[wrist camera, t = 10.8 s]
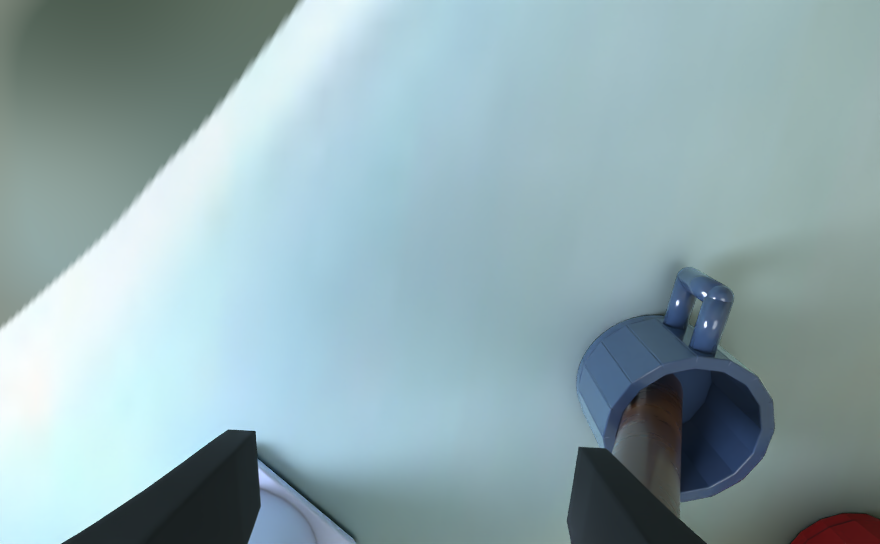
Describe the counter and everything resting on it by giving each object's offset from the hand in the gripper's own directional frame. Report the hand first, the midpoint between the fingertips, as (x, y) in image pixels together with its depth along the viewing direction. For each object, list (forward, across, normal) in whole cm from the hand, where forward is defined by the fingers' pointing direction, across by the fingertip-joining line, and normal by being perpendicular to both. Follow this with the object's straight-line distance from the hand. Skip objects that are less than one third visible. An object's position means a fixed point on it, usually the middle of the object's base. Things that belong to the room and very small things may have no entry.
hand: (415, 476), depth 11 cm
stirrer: (+10, -10, +3) cm, 14 cm away
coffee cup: (+10, -10, +2) cm, 14 cm away
